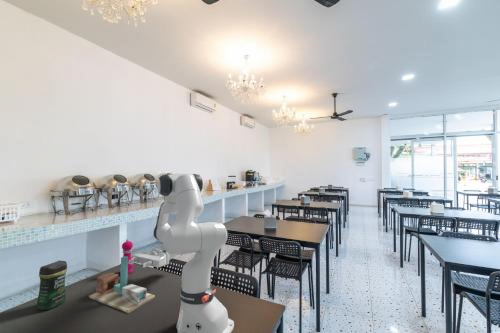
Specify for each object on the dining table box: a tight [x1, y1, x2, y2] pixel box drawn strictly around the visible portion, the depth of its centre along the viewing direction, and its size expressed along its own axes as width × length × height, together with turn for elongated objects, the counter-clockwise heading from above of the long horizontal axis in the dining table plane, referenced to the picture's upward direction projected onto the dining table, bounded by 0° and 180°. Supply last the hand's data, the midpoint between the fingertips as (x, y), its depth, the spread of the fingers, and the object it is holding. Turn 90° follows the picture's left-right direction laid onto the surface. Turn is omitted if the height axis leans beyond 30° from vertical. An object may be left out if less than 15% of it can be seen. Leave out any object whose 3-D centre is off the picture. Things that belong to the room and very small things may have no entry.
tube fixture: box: [88, 271, 156, 314], centre depth 110 cm, size 28×14×8 cm, turn 64°
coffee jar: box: [36, 260, 68, 311], centre depth 104 cm, size 10×8×19 cm
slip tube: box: [114, 256, 144, 299], centre depth 108 cm, size 17×3×16 cm, turn 64°
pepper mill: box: [119, 238, 135, 275], centre depth 139 cm, size 7×7×20 cm
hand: (135, 264), depth 115 cm, fingers open, 8 cm apart
